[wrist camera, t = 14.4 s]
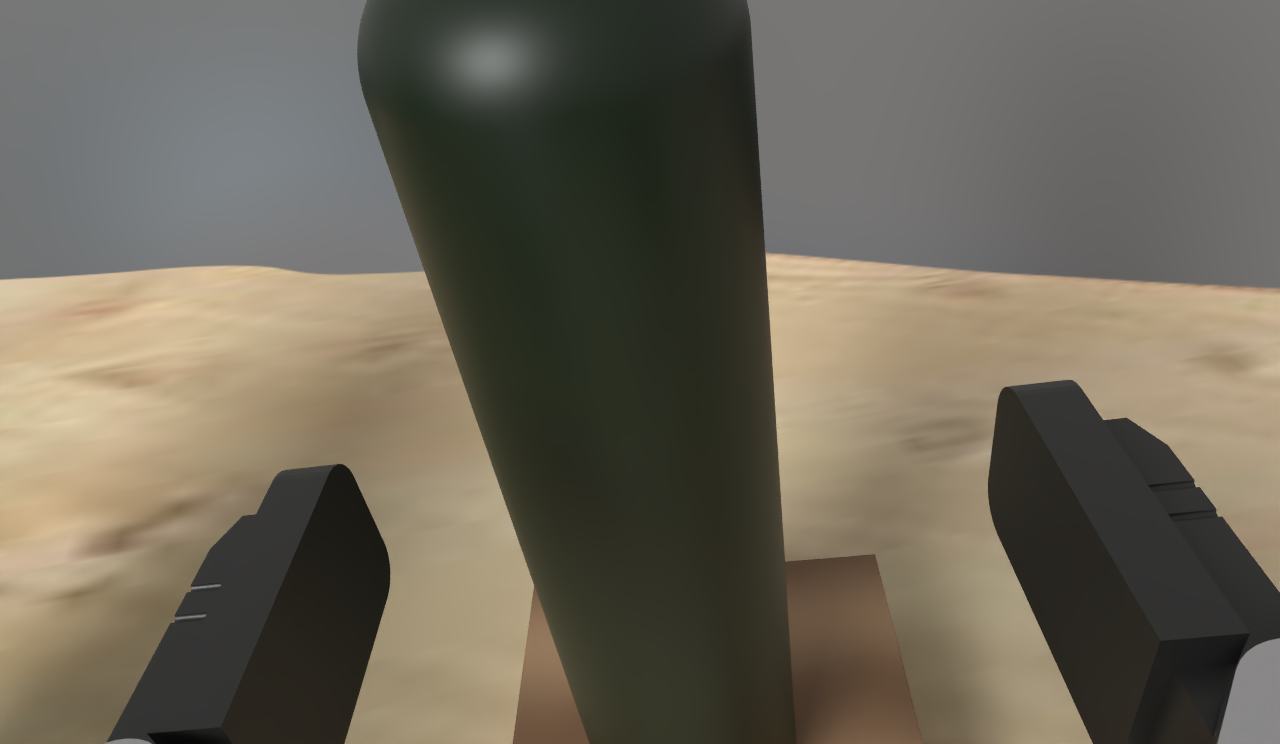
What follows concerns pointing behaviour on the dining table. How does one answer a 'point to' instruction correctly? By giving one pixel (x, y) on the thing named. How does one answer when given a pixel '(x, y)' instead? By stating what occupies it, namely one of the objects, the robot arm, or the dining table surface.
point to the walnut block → (820, 658)
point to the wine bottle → (609, 331)
